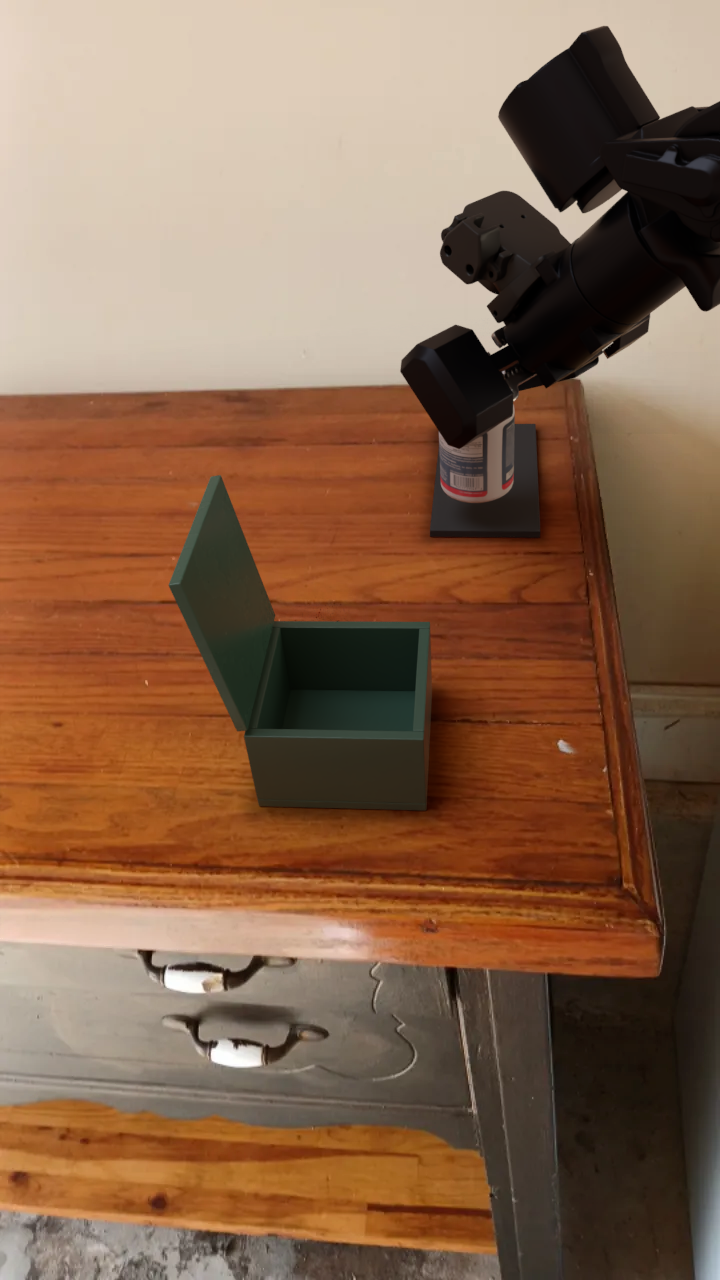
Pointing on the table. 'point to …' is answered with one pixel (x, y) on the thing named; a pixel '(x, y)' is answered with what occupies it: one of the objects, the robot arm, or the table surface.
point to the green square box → (343, 716)
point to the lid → (224, 602)
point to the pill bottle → (480, 465)
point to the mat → (501, 515)
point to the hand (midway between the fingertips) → (461, 405)
